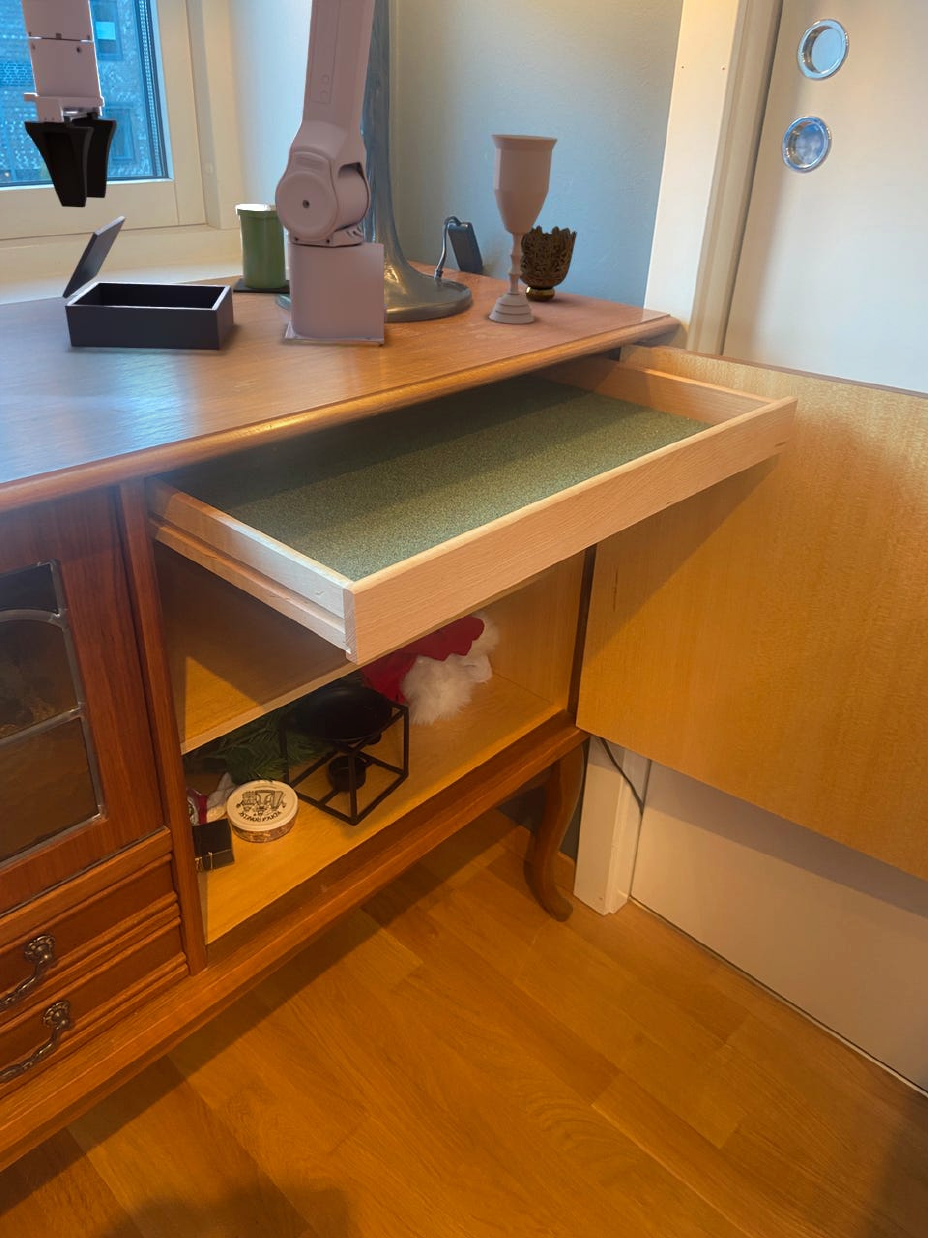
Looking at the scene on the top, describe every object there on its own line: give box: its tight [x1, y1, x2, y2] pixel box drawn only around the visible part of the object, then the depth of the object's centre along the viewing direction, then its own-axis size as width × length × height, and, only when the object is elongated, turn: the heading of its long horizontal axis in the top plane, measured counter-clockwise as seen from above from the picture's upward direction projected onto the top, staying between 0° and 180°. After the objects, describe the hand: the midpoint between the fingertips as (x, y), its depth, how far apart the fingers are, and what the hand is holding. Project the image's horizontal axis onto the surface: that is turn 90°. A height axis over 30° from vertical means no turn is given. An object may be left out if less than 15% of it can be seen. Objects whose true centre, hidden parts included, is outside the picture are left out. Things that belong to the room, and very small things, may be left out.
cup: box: [519, 225, 578, 302], centre depth 111 cm, size 8×7×8 cm
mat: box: [232, 277, 290, 295], centre depth 110 cm, size 7×7×1 cm
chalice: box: [488, 134, 558, 325], centre depth 99 cm, size 7×7×18 cm
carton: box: [64, 281, 235, 351], centre depth 87 cm, size 13×11×4 cm
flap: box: [61, 215, 127, 299], centre depth 84 cm, size 6×11×1 cm
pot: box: [235, 203, 287, 289], centre depth 108 cm, size 6×6×8 cm
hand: (84, 201), depth 92 cm, fingers open, 7 cm apart
